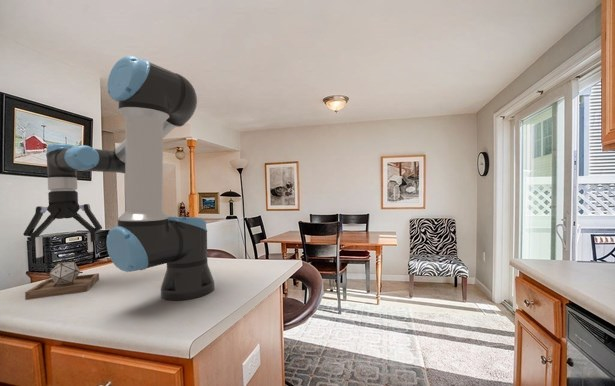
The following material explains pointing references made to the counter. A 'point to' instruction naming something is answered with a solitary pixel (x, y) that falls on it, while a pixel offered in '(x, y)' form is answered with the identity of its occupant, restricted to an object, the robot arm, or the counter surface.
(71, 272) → the game die
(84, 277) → the walnut tray
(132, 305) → the counter surface
